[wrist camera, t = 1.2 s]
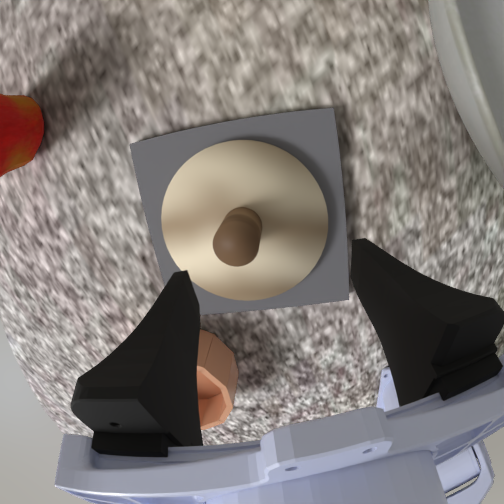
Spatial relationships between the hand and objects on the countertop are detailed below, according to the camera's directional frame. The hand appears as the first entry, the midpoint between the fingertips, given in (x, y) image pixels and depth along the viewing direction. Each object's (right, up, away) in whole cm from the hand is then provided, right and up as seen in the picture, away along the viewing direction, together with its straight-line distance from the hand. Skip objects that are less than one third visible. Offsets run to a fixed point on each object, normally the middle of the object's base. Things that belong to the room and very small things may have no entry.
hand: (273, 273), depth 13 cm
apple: (-23, +13, +10) cm, 29 cm away
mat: (-1, +4, +12) cm, 13 cm away
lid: (-2, +3, +11) cm, 12 cm away
